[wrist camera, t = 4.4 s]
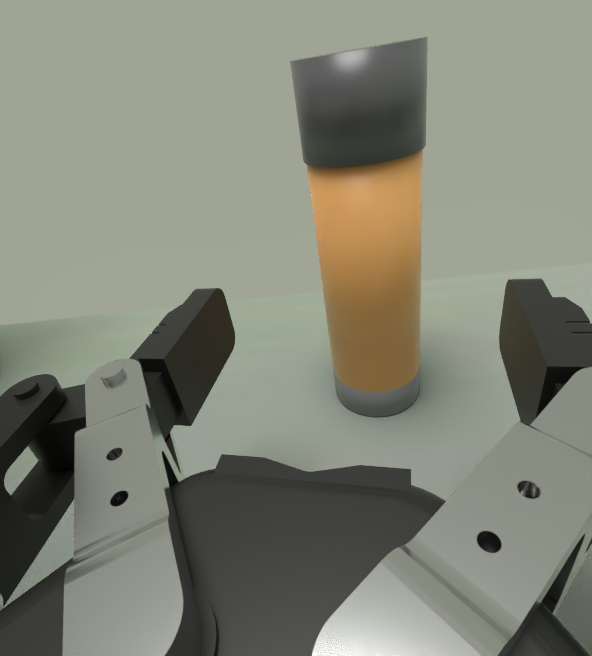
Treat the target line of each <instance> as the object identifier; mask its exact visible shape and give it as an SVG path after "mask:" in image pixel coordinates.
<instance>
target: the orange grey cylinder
mask: <svg viewBox="0 0 592 656" xmlns="http://www.w3.org/2000/svg"><path fill="white" fill-rule="evenodd" d="M290 63H291V71H292V78H293V85H294V93H295V100H296V108H297V115H298V123H299V131H300V138H301V146H302V153H303V160H304V162H305V163H306V164H307V169H308V177H309V185H310V193H311V200H312V208H313V216H314V223H315V231H316V239H317V246H318V254H319V261H320V269H321V277H322V284H323V292H324V300H325V308H326V316H327V323H328V331H329V339H330V346H331V354H332V362H333V369H334V377H335V385H336V392H337V396H338V398H339V400H340V402H341V403H342V404H343V405H344V406H345V407H346V408H348V409H349V410H351V411H353V412H355V413H358V414H361V415H365V416H371V417H385V416H391V415H394V414H397V413H400V412H402V411H404V410H406V409H407V408H409V407H410V406H411V405H412V404H413V403H414V402H415V401H416V399H417V397H418V394H419V369H420V294H421V220H422V217H421V216H422V149H423V148H424V147H425V145H426V93H427V92H426V91H427V90H426V89H427V37H424V38H417V39H411V40H405V41H399V42H393V43H387V44H382V45H377V46H370V47H364V48H360V49H353V50H348V51H342V52H337V53H331V54H326V55H320V56H315V57H310V58H304V59H299V60H294V61H290Z"/></svg>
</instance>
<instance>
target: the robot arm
mask: <svg viewBox="0 0 592 656" xmlns="http://www.w3.org/2000/svg"><path fill="white" fill-rule="evenodd" d="M499 343H500V351H501V355H502V359H503V362H504V365H505V369H506V372H507V376H508V379H509V382H510V386H511V389H512V393H513V396H514V399H515V403H516V406H517V410H518V413H519V416H520V420H521V422H518V423H516V424H515V425H514V426H513V427H512V428H511V429H510V430H509V432H508V433H507V434H506V435H505V436H504V437H503V438H502V439H501V440H500V442H499V443H498V444H497V445H496V446H495V447H494V448H493V449H492V451H491V452H490V453H489V454H488V455H487V456H486V457H485V458H484V460H483V461H482V462H481V463H480V464H479V465H478V466H477V467H476V468H475V470H474V471H473V472H472V473H471V474H470V475H469V476H468V477H467V479H466V480H465V481H464V482H463V483H462V484H461V485H460V486H459V488H458V489H457V490H456V491H455V492H454V493H453V494H452V495H451V496H450V498H449V499H448V500H447V501H445V500H443V499H441V498H440V497H438V496H436V495H434V494H433V493H430V492H428V491H426V490H424V489H421V488H418V487H415V486H412V485H411V469H400V468H388V467H375V466H362V465H359V466H351V467H344V468H337V469H329V470H322V471H315V472H306V471H302V470H299V469H296V468H293V467H290V466H287V465H284V464H281V463H278V462H275V461H272V460H269V459H267V458H262V457H249V456H236V455H224V454H222V455H221V457H220V459H219V462H218V464H217V466H216V469H213V470H208V471H204V472H200V473H198V474H195V475H192V476H190V477H187V478H185V477H184V473H183V470H182V466H181V463H180V459H179V455H178V452H177V448H176V445H175V441H174V438H173V436H172V434H171V429H172V428H173V426H174V425H184V426H191V425H192V423H193V422H194V420H195V418H196V416H197V414H198V412H199V411H200V409H201V407H202V405H203V403H204V401H205V400H206V398H207V396H208V394H209V392H210V391H211V389H212V387H213V385H214V383H215V381H216V380H217V378H218V376H219V374H220V372H221V370H222V369H223V367H224V365H225V363H226V361H227V360H228V358H229V356H230V354H231V352H232V350H233V348H234V344H235V332H234V328H233V324H232V320H231V317H230V313H229V310H228V306H227V303H226V299H225V296H224V293H223V291H222V290H221V289H219V288H213V289H212V288H211V289H196V290H194V291H193V292H192V294H191V295H190V296H189V297H188V299H187V300H186V301H185V302H184V303H183V305H180V306H178V307H177V308H175V309H174V310H172V311H171V312H170V313H168V314H167V315H166V316H165V317H164V319H163V320H162V321H161V322H160V323H159V326H157V327H156V328H155V329H154V330H153V332H152V334H150V335H149V336H148V337H147V339H146V340H145V341H144V342H143V343H142V344H141V346H140V347H139V348H138V349H137V350H136V352H135V353H134V354H133V355H132V356H131V357H130V359H120V360H115V361H112V362H110V363H107V364H105V365H103V366H101V367H100V368H98V369H97V370H95V371H94V372H93V373H92V374H91V375H90V376H89V377H88V379H87V380H86V383H85V384H83V385H78V386H74V387H69V388H64V389H62V388H61V386H60V384H59V383H58V381H57V379H56V378H55V377H54V376H52V375H49V374H43V375H36V376H33V377H30V378H27V379H25V380H23V381H21V382H19V383H17V384H15V385H14V386H12V387H11V388H9V389H8V390H7V391H6V392H5V393H4V394H3V395H2V396H0V656H590V655H589V654H588V653H587V652H586V651H585V650H584V649H583V647H582V646H581V645H580V644H579V643H578V642H577V641H576V640H575V638H574V637H573V636H572V635H571V634H570V633H569V632H568V630H567V629H566V628H565V627H564V626H563V625H562V624H561V623H560V621H559V620H558V619H557V618H556V617H555V614H556V612H557V610H558V609H559V607H560V605H561V603H562V602H563V600H564V598H565V596H566V594H567V592H568V590H569V589H570V587H571V585H572V583H573V581H574V579H575V577H576V575H577V573H578V571H579V569H580V567H581V565H582V564H583V562H584V560H585V558H586V557H587V555H588V553H589V552H590V550H591V548H592V324H590V320H589V319H588V317H587V316H586V314H585V313H584V311H583V309H582V308H581V307H579V306H578V305H576V304H575V303H573V302H572V301H570V300H568V299H567V298H565V297H553V298H552V296H551V294H550V292H549V290H548V289H547V287H546V285H545V283H544V281H543V280H542V279H512V280H508V282H507V284H506V289H505V296H504V303H503V310H502V318H501V325H500V334H499ZM27 446H28V447H29V448H30V449H31V451H32V452H33V454H34V455H35V456H36V458H37V459H38V460H39V461H38V462H37V464H36V465H35V466H34V467H33V469H32V470H31V471H30V472H29V474H28V475H27V476H26V477H25V479H24V480H23V481H22V482H21V484H20V485H19V486H18V487H17V489H16V490H15V491H14V492H13V494H12V495H11V496H10V494H9V493H8V492H7V491H6V489H5V486H4V478H5V474H6V472H7V470H8V468H9V467H10V466H11V465H12V464H13V462H14V461H15V460H16V459H17V458H18V456H19V455H20V454H21V453H22V452H23V451H24V449H25V448H26V447H27ZM73 500H74V557H73V558H72V559H70V560H69V561H68V562H66V563H65V564H64V565H62V566H61V567H59V568H58V569H57V570H55V571H54V572H53V573H51V574H50V575H48V576H47V577H46V578H44V579H43V580H42V581H40V582H39V583H37V584H36V585H35V586H33V587H32V588H31V589H29V590H28V591H27V592H25V593H24V594H22V595H21V596H20V597H18V598H17V599H16V600H14V601H13V602H11V603H10V604H9V605H7V606H6V607H5V608H3V607H4V605H5V604H6V602H7V601H8V599H9V598H10V596H11V595H12V593H13V592H14V590H15V588H16V587H17V585H18V584H19V582H20V581H21V579H22V578H23V576H24V575H25V573H26V572H27V570H28V569H29V567H30V565H31V564H32V562H33V561H34V559H35V558H36V556H37V555H38V553H39V552H40V550H41V549H42V547H43V546H44V544H45V542H46V541H47V539H48V538H49V536H50V535H51V533H52V532H53V530H54V529H55V527H56V526H57V524H58V523H59V521H60V519H61V518H62V516H63V515H64V513H65V512H66V510H67V509H68V507H69V506H70V504H71V503H72V501H73Z"/></svg>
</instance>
